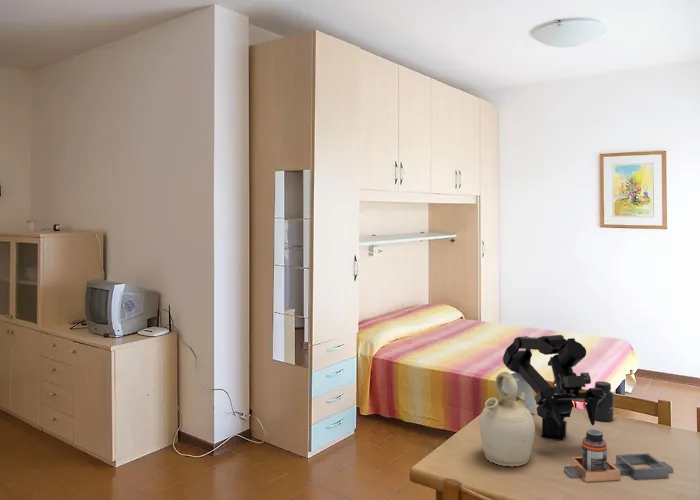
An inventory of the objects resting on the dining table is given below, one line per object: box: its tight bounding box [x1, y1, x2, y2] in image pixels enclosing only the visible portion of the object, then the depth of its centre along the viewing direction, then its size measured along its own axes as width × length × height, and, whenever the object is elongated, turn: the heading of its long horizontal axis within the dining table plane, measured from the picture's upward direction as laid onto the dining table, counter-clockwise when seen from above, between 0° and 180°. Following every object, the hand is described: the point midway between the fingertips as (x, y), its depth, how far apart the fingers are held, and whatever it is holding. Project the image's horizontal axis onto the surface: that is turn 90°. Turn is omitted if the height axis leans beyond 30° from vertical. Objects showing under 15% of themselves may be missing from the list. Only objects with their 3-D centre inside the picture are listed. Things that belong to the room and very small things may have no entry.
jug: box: [478, 371, 536, 468], centre depth 162 cm, size 15×16×25 cm
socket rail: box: [563, 452, 674, 483], centre depth 152 cm, size 28×9×2 cm, turn 93°
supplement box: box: [502, 372, 537, 414], centre depth 197 cm, size 7×7×13 cm
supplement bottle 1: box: [581, 428, 608, 471], centre depth 152 cm, size 6×6×11 cm
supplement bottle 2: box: [594, 381, 615, 422], centre depth 190 cm, size 7×7×12 cm
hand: (577, 425), depth 160 cm, fingers open, 9 cm apart
